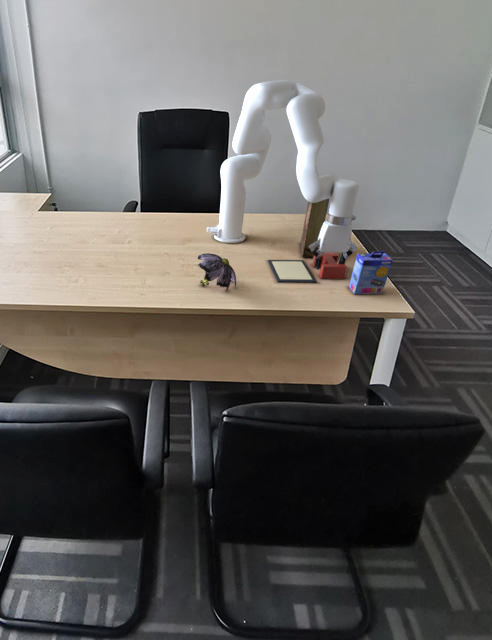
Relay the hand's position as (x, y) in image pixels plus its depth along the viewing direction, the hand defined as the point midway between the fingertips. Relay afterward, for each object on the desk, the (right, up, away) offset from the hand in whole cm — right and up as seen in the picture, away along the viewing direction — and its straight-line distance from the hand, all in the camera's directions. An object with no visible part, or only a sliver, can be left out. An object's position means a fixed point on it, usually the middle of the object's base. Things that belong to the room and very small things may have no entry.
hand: (328, 267), depth 172 cm
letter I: (0, -1, +1) cm, 1 cm away
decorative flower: (-41, -8, -9) cm, 43 cm away
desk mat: (-13, -1, +1) cm, 13 cm away
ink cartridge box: (+8, -10, -11) cm, 17 cm away
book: (-2, +9, +17) cm, 19 cm away
